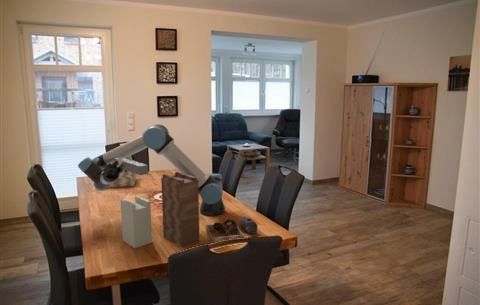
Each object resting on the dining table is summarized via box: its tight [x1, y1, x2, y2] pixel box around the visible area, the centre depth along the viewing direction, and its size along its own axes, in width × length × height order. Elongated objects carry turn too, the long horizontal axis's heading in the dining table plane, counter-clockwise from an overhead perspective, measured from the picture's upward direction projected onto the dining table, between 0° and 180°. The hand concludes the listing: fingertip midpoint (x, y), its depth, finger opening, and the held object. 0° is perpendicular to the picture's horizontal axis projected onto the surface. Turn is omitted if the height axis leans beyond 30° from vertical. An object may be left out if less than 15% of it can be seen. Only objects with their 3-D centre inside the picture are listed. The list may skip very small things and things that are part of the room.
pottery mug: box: [212, 218, 238, 236], centre depth 177 cm, size 12×10×8 cm
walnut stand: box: [160, 171, 201, 248], centre depth 168 cm, size 16×10×32 cm, turn 43°
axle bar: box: [114, 157, 149, 176], centre depth 164 cm, size 26×4×4 cm, turn 43°
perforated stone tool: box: [239, 216, 258, 234], centre depth 181 cm, size 15×5×7 cm, turn 23°
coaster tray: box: [205, 222, 244, 244], centre depth 175 cm, size 16×17×3 cm
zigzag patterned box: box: [102, 169, 137, 188], centre depth 277 cm, size 26×23×14 cm
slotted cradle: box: [119, 195, 153, 249], centre depth 166 cm, size 12×9×20 cm
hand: (126, 159), depth 166 cm, fingers closed on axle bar, 4 cm apart
